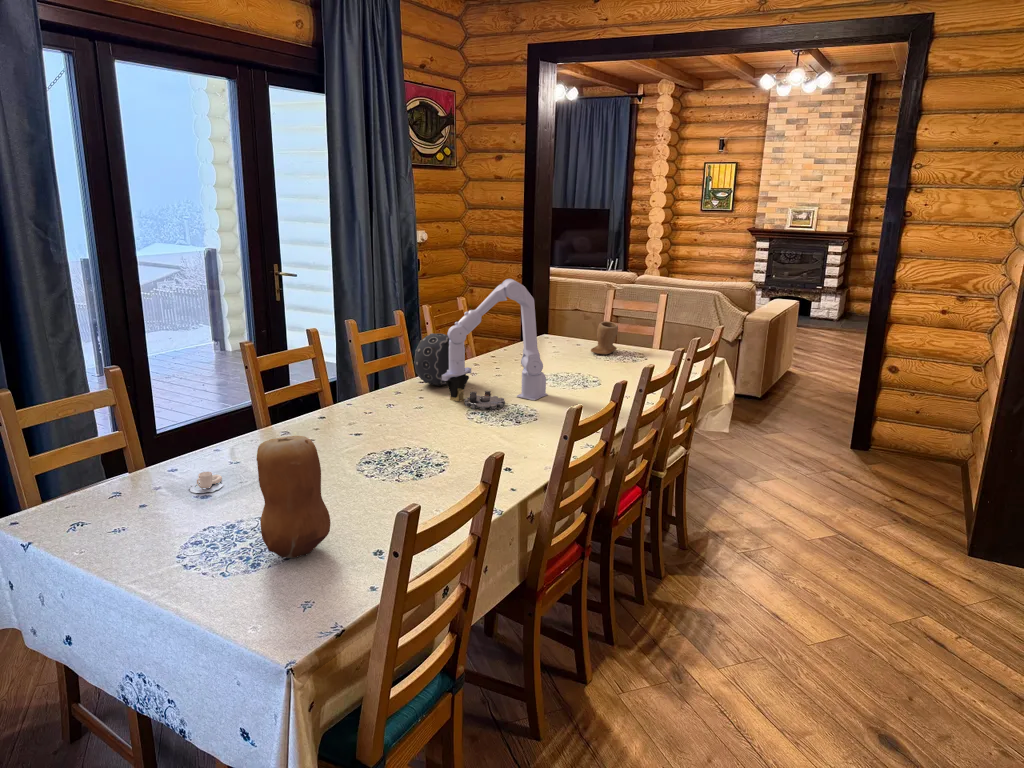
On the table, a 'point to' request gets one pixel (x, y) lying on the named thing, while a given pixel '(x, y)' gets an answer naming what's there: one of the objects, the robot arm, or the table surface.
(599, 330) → the stone cup
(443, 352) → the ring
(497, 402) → the sprocket
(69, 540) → the table surface
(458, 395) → the link block
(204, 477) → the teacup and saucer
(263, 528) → the butternut squash
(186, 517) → the table surface
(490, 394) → the block
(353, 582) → the table surface
